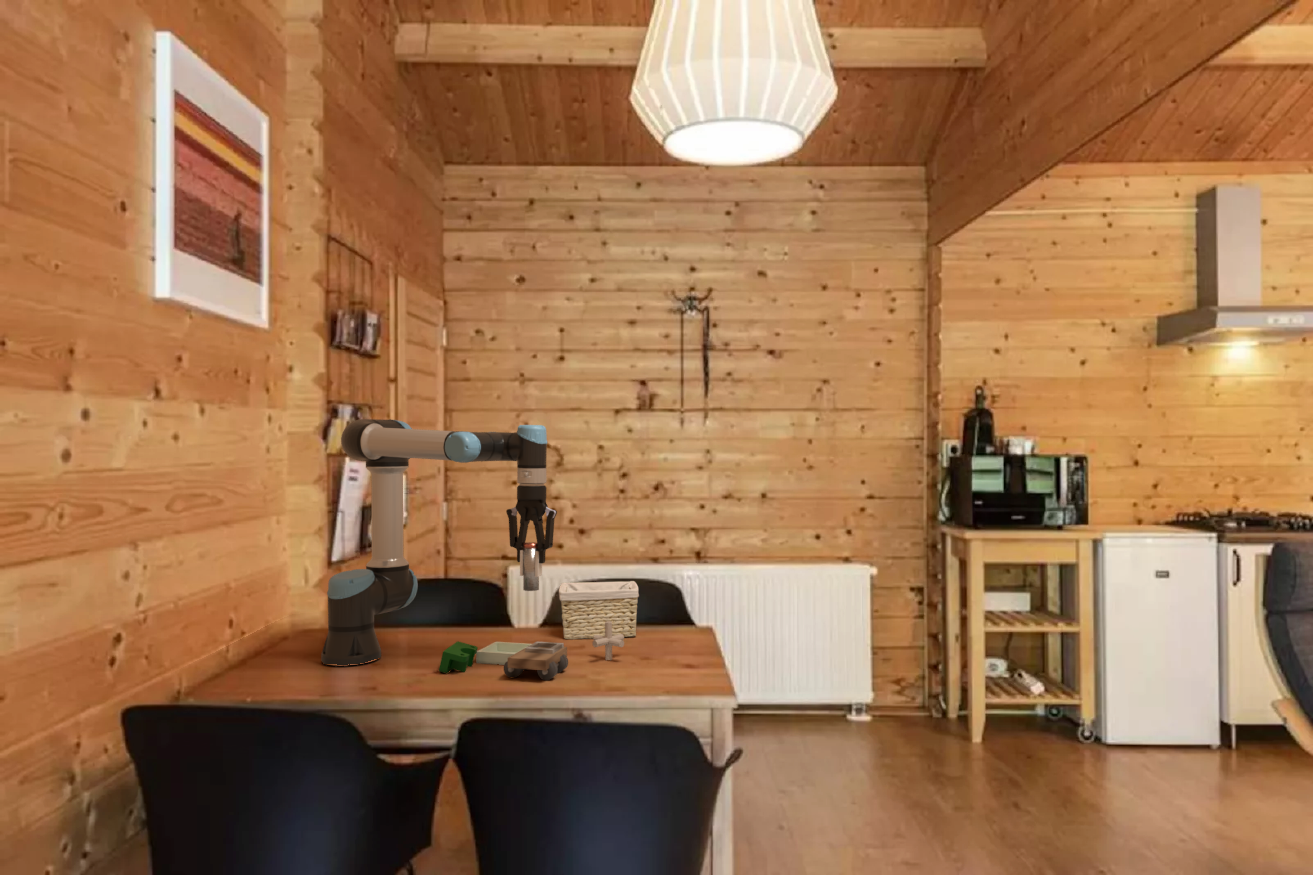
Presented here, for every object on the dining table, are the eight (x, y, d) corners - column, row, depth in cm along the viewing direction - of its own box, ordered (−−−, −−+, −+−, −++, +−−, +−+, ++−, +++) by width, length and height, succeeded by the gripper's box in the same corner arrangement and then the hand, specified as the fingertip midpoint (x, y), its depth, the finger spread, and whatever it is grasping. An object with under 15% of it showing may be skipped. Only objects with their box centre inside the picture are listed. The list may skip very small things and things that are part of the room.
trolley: (499, 679, 210) (499, 653, 210) (523, 665, 224) (523, 640, 224) (550, 683, 207) (550, 656, 207) (571, 668, 220) (571, 643, 220)
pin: (520, 590, 220) (520, 543, 221) (527, 588, 224) (527, 541, 224) (535, 591, 219) (535, 544, 219) (541, 588, 223) (541, 542, 223)
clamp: (459, 690, 217) (463, 661, 214) (437, 684, 218) (440, 655, 214) (477, 661, 228) (480, 633, 224) (456, 655, 229) (459, 627, 225)
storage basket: (558, 641, 252) (558, 590, 252) (560, 629, 268) (560, 581, 268) (640, 639, 254) (639, 589, 254) (637, 627, 270) (636, 580, 270)
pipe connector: (582, 660, 229) (581, 622, 229) (609, 653, 236) (608, 616, 236) (608, 666, 222) (608, 627, 222) (635, 659, 229) (635, 621, 230)
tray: (476, 663, 227) (476, 651, 227) (495, 652, 238) (495, 641, 238) (516, 665, 224) (516, 654, 224) (534, 655, 235) (534, 644, 235)
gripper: (495, 484, 221) (495, 575, 221) (556, 486, 216) (555, 579, 216) (508, 483, 228) (508, 571, 228) (567, 484, 223) (566, 574, 223)
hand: (531, 575), depth 222 cm, fingers closed on pin, 3 cm apart
